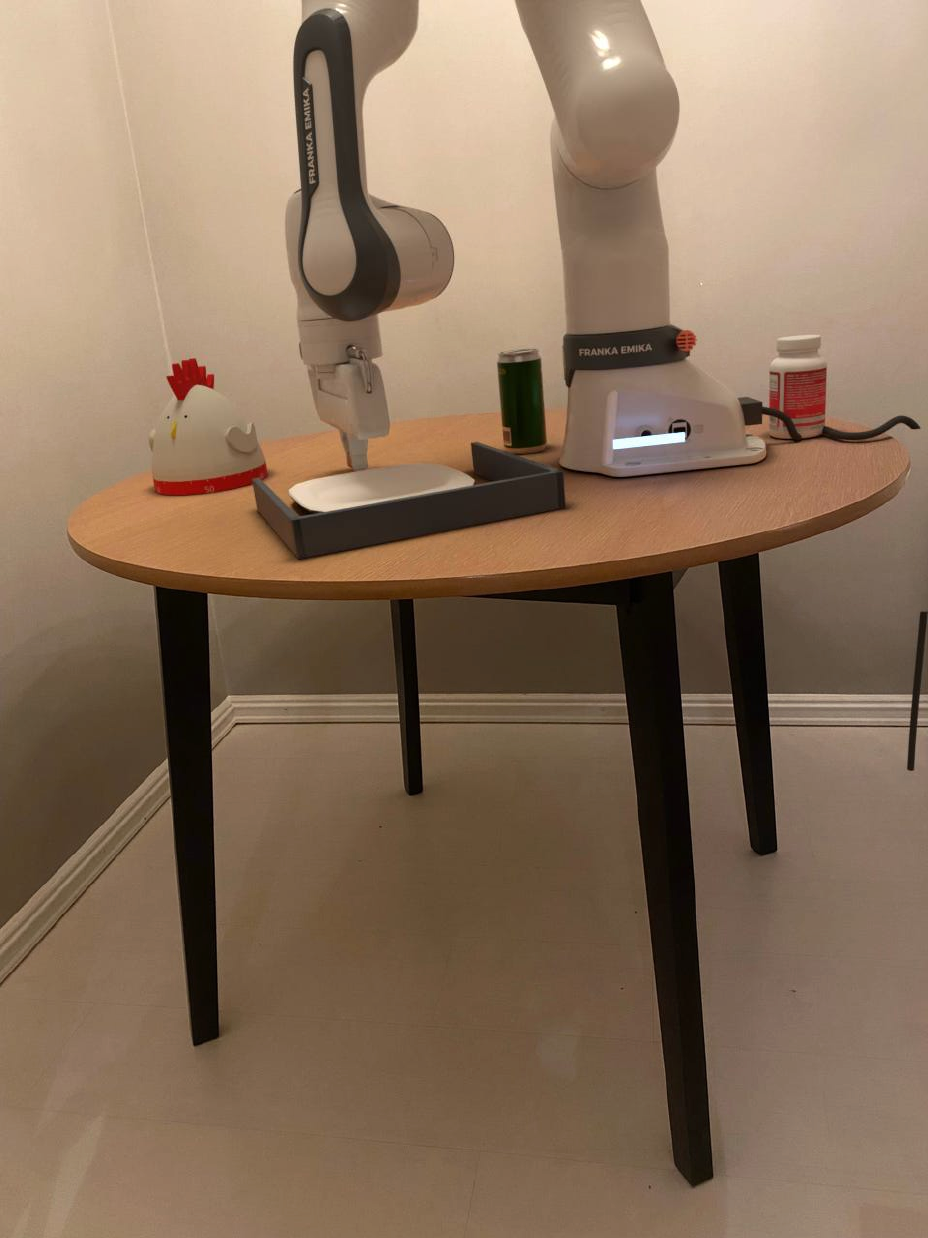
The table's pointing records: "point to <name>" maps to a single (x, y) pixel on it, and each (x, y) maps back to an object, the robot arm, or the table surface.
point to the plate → (376, 486)
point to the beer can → (522, 401)
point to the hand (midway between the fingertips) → (358, 468)
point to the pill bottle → (798, 386)
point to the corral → (421, 507)
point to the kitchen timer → (202, 439)
